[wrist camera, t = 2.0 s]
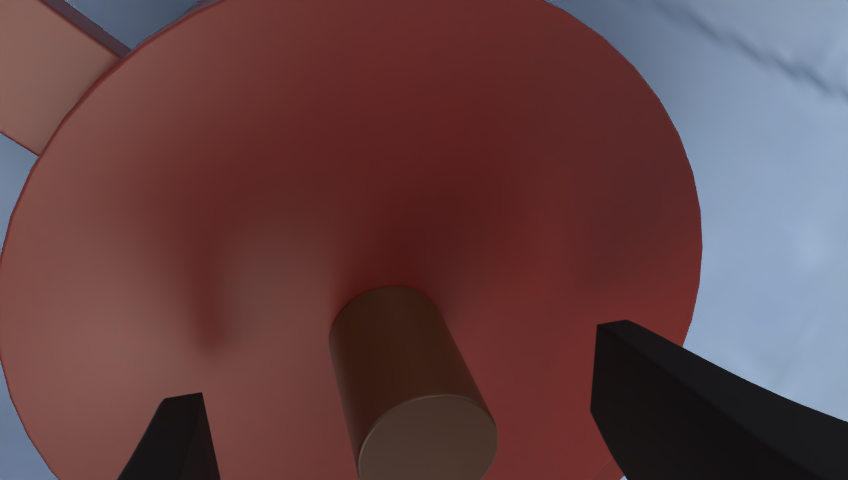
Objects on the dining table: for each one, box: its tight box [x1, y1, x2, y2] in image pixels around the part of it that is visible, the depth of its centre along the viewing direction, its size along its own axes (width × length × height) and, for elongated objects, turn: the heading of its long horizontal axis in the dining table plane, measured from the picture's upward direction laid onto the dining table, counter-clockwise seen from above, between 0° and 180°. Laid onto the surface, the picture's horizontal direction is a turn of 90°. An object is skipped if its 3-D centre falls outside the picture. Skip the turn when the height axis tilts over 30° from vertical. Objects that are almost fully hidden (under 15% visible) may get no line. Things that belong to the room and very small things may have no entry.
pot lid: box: [0, 0, 702, 480], centre depth 14 cm, size 14×14×5 cm
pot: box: [0, 0, 624, 480], centre depth 18 cm, size 13×19×5 cm
